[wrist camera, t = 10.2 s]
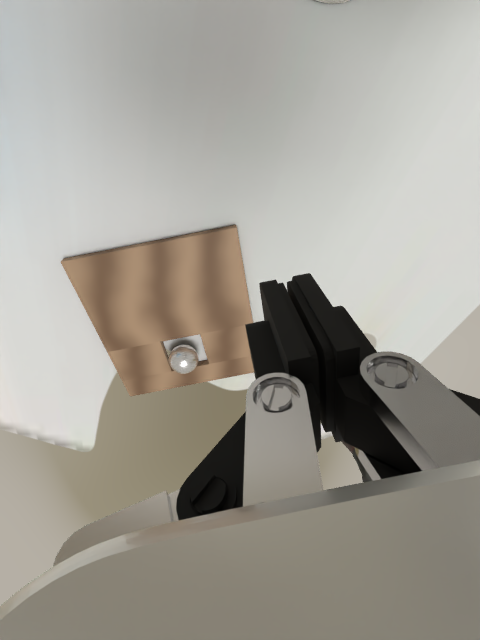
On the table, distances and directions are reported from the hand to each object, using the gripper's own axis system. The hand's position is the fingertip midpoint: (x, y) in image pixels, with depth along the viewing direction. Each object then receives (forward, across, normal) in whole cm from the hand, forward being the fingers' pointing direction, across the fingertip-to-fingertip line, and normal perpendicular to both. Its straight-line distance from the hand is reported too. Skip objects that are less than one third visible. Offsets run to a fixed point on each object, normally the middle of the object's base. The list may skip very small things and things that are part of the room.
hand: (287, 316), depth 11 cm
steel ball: (+25, +10, +21) cm, 34 cm away
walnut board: (+27, +10, +16) cm, 33 cm away
